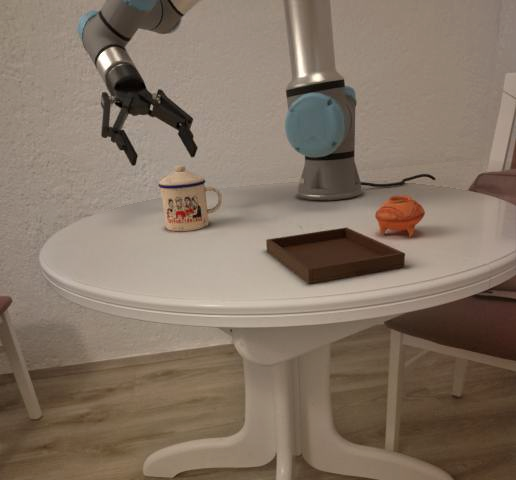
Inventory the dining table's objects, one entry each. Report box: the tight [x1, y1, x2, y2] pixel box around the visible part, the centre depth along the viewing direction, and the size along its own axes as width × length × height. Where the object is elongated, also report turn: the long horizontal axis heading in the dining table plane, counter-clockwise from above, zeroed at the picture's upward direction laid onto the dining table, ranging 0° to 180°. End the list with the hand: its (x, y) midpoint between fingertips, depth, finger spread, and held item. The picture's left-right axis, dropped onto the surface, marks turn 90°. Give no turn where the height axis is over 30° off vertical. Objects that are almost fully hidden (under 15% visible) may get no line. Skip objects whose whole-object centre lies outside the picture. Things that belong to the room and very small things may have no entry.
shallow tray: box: [265, 227, 406, 285], centre depth 71 cm, size 14×17×2 cm
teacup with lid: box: [158, 164, 223, 232], centre depth 95 cm, size 12×9×12 cm
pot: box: [374, 194, 426, 238], centre depth 80 cm, size 8×8×7 cm
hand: (165, 156), depth 98 cm, fingers open, 13 cm apart
